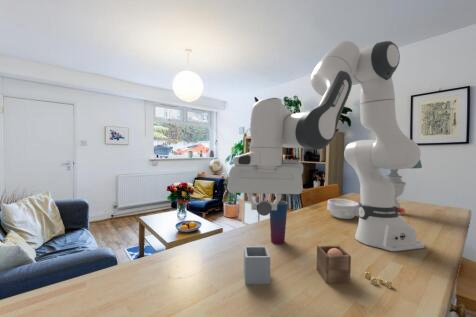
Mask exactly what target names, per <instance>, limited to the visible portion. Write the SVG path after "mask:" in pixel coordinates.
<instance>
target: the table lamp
mask: <svg viewBox="0 0 476 317" xmlns="http://www.w3.org/2000/svg"><path fill="white" fill-rule="evenodd" d="M422 167H423V166H422V161H421V159H420V160H419V162H418V163H417V164H416V165H415V166H414V167H412V168H411V169H422ZM389 171H390V173H388V174H386V175H385V177H386V179H387V180H389V181H390V182H392V184H393V185H394V188H395V196H394V206H396V207H397V208H399V207H400V205H401V204H400V203H399V202H398V199H397V198H398V197H400V196H401V195H402V194H403V193H404V192H405V187H406V185H407V183H406V182H405V181H403V180H402V179H403V176H402V175H399V173H398V171H399V169H397V170H396V169H389ZM398 215H399V216H400V215H401V216H402V215H403V214H401V213H399V212H398Z"/></svg>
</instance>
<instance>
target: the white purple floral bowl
mask: <svg viewBox="0 0 476 317" xmlns="http://www.w3.org/2000/svg"><path fill="white" fill-rule="evenodd" d="M326 205H327V206H326V207H327V211H328V212H330V213H331V215H332V216H333V217H334V218H337V219H341V220H351V219H354V217H355V216H356V215H359V202H357V201H354V200H350V199H343V198H331V199H327V204H326Z"/></svg>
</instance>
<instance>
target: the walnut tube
mask: <svg viewBox="0 0 476 317" xmlns="http://www.w3.org/2000/svg"><path fill="white" fill-rule="evenodd" d="M332 248H336V249H339V250H340V251H341V252H342V254H343V255H327V253H328V251H329V250H330V249H332ZM351 262H352V256H351V255H350V254H349V253H348V252H347V251H346V250H345V249H344V248H343V247H341V246H340V245H316V271H317V273H318V275H320V277H321V278H322V279H323V281H324V283H325V284H351V271H352V270H351V268H352V266H351V265H352V264H351Z"/></svg>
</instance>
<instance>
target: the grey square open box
mask: <svg viewBox="0 0 476 317" xmlns="http://www.w3.org/2000/svg"><path fill="white" fill-rule="evenodd" d="M243 276H244V285H270V284H271V254H270V253H269V250H268V247H267V246H266V245H261V246H255V245H254V246H252V245H251V246H250V245H249V246H246V245H245V246H243Z"/></svg>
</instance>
